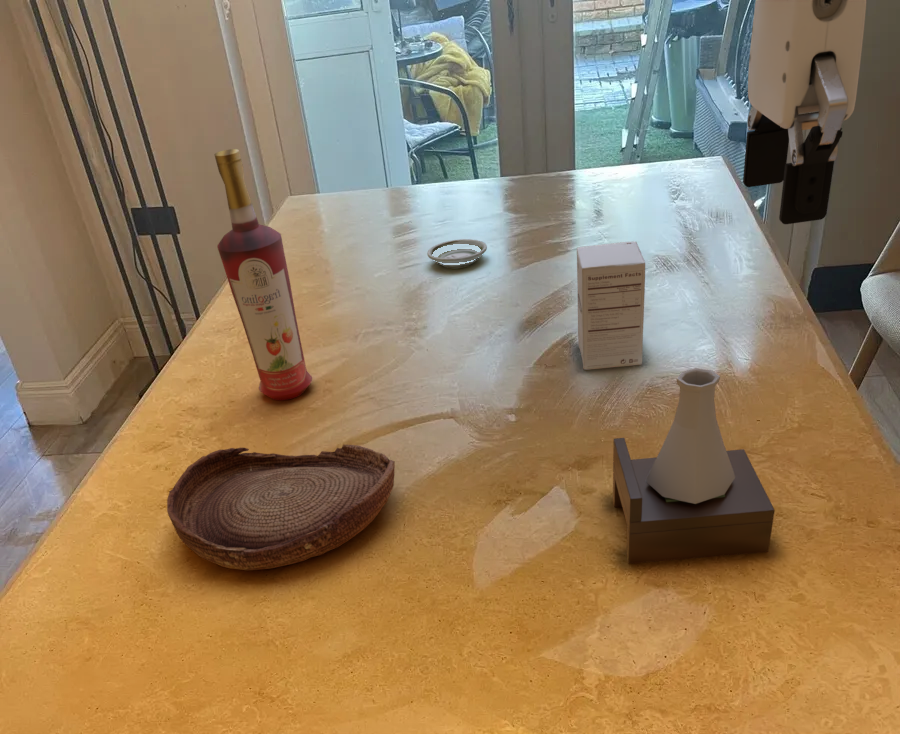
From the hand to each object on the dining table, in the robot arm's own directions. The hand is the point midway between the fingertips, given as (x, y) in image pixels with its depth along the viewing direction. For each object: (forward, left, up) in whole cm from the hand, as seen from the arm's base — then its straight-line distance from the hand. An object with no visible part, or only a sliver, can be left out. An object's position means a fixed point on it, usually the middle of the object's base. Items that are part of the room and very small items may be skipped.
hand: (781, 201), depth 65 cm
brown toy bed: (+7, +6, -26) cm, 27 cm away
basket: (+45, -1, -26) cm, 52 cm away
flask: (+7, +6, -21) cm, 23 cm away
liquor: (+50, -30, -26) cm, 64 cm away
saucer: (+28, -71, -26) cm, 80 cm away
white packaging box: (+9, -31, -26) cm, 41 cm away
